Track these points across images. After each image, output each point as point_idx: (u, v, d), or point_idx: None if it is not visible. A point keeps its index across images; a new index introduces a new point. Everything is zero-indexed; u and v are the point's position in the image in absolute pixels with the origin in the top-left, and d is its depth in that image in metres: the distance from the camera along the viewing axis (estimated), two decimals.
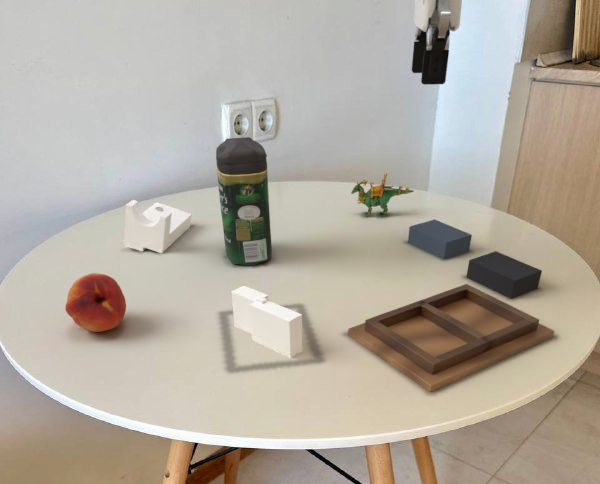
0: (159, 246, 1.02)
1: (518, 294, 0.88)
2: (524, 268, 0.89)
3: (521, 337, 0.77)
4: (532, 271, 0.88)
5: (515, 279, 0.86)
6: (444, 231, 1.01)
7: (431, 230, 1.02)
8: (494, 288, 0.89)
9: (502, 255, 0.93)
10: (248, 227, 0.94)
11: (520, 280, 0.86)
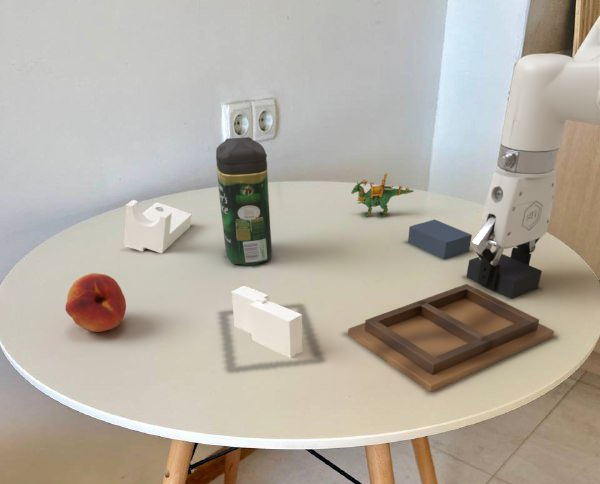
0: (159, 246, 1.02)
1: (518, 294, 0.88)
2: (524, 268, 0.89)
3: (521, 337, 0.77)
4: (532, 271, 0.88)
5: (515, 279, 0.86)
6: (444, 231, 1.01)
7: (431, 230, 1.02)
8: None
9: (502, 255, 0.93)
10: (248, 227, 0.94)
11: (520, 281, 0.86)
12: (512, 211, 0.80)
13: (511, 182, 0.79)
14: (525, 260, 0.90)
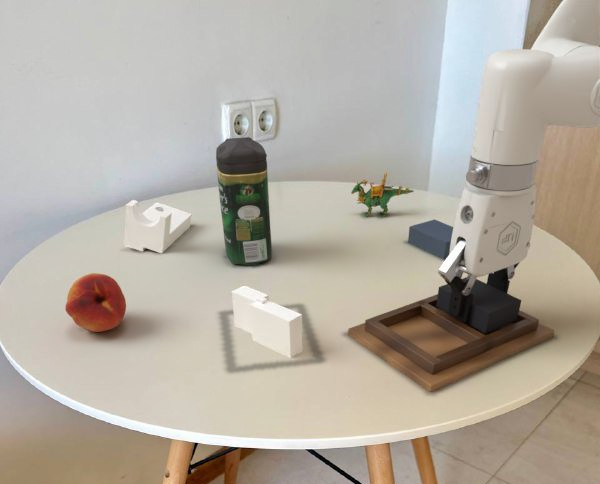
0: (159, 246, 1.02)
1: (494, 328, 0.76)
2: (500, 298, 0.77)
3: (521, 337, 0.77)
4: (510, 301, 0.76)
5: (490, 311, 0.74)
6: (444, 231, 1.01)
7: (431, 230, 1.02)
8: None
9: (477, 281, 0.81)
10: (248, 227, 0.94)
11: (496, 313, 0.75)
12: (484, 234, 0.69)
13: (482, 201, 0.67)
14: (502, 287, 0.78)
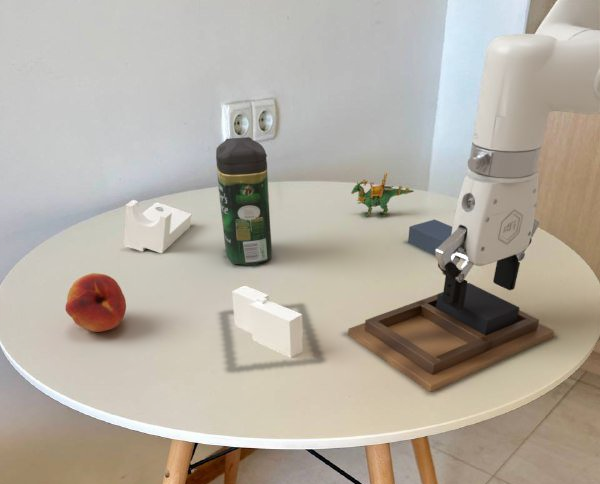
0: (159, 246, 1.02)
1: None
2: (499, 305, 0.78)
3: (521, 337, 0.77)
4: (508, 308, 0.77)
5: (488, 318, 0.75)
6: (444, 231, 1.01)
7: (431, 230, 1.02)
8: None
9: (475, 288, 0.82)
10: (248, 227, 0.94)
11: (494, 320, 0.75)
12: (486, 222, 0.68)
13: (484, 188, 0.66)
14: (512, 269, 0.77)
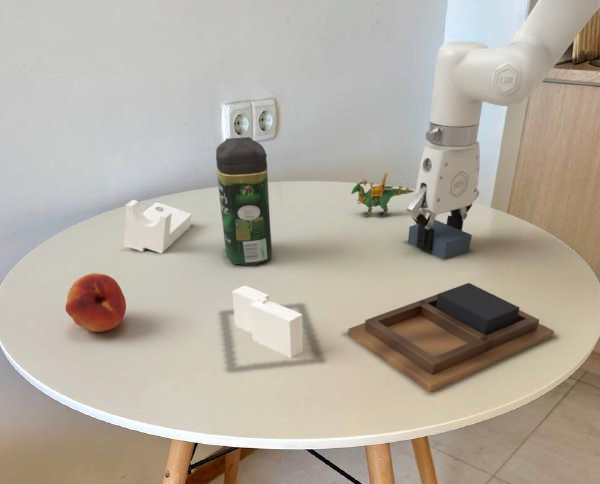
0: (159, 246, 1.02)
1: None
2: (499, 305, 0.78)
3: (521, 337, 0.77)
4: (508, 308, 0.77)
5: (488, 318, 0.75)
6: (444, 231, 1.01)
7: None
8: None
9: (475, 288, 0.82)
10: (248, 227, 0.94)
11: (494, 320, 0.75)
12: (440, 180, 0.92)
13: (437, 154, 0.90)
14: (458, 226, 1.02)
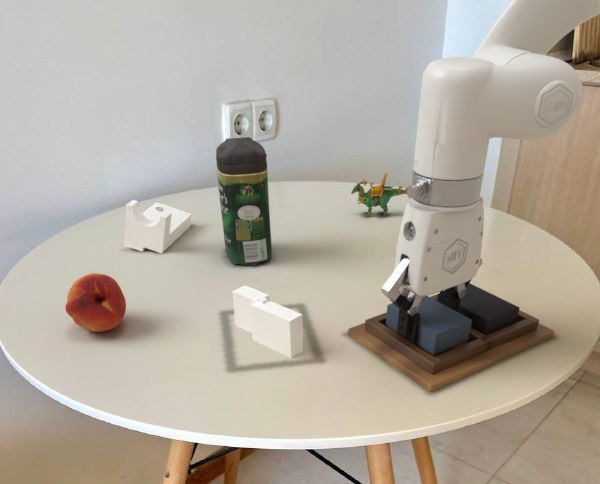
0: (159, 246, 1.02)
1: None
2: (499, 305, 0.78)
3: (521, 337, 0.77)
4: (508, 308, 0.77)
5: (488, 318, 0.75)
6: (434, 313, 0.74)
7: None
8: None
9: (475, 288, 0.82)
10: (248, 227, 0.94)
11: (494, 320, 0.75)
12: (427, 252, 0.65)
13: (424, 217, 0.63)
14: (453, 306, 0.74)
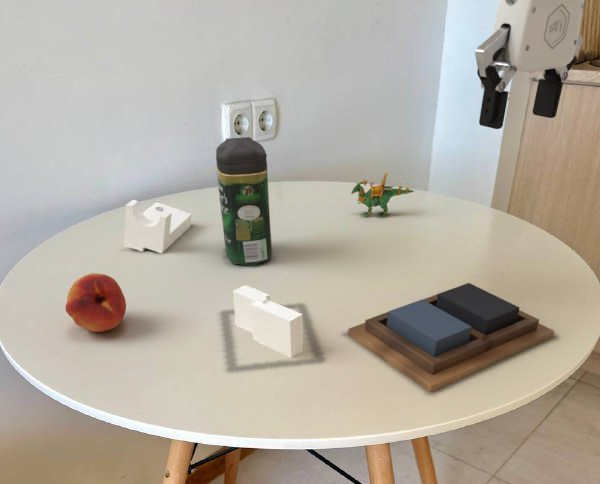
0: (159, 246, 1.02)
1: None
2: (499, 305, 0.78)
3: (521, 337, 0.77)
4: (508, 308, 0.77)
5: (488, 318, 0.75)
6: (434, 320, 0.75)
7: (416, 318, 0.75)
8: None
9: (475, 288, 0.82)
10: (248, 227, 0.94)
11: (494, 320, 0.75)
12: (532, 14, 0.63)
13: None
14: (555, 90, 0.72)
